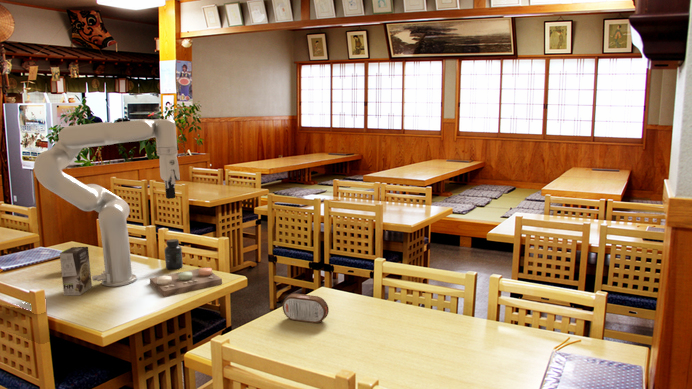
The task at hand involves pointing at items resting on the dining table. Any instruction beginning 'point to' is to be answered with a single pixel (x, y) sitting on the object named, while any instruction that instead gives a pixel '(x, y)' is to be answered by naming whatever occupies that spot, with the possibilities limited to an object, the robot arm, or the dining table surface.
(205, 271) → the terracotta button
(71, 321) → the dining table surface
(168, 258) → the supplement bottle
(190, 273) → the sage button
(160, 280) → the cream button
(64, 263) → the coffee box
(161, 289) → the button panel
